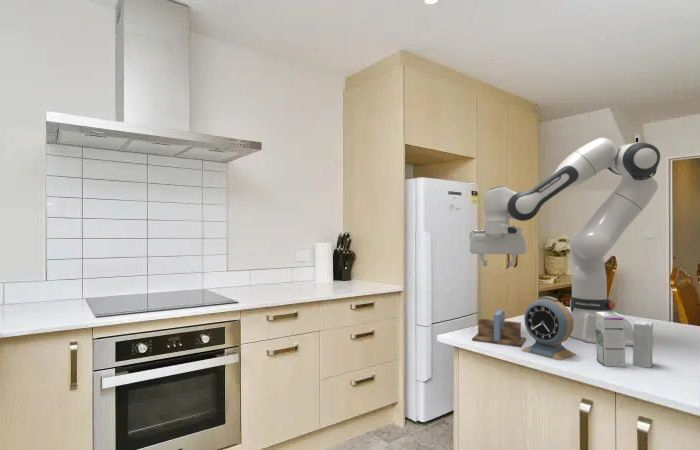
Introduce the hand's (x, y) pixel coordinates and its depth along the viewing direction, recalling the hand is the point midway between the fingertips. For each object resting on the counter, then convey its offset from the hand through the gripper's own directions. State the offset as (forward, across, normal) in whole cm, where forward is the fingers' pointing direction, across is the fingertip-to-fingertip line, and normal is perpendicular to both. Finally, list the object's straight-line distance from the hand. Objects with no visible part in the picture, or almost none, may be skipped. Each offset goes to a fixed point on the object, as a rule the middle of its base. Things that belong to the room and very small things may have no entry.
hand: (497, 266), depth 156 cm
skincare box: (+26, +43, -18) cm, 53 cm away
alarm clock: (+26, +18, -19) cm, 37 cm away
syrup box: (+26, +35, -22) cm, 48 cm away
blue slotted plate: (+24, +2, -11) cm, 27 cm away
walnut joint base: (+25, +2, -11) cm, 28 cm away
